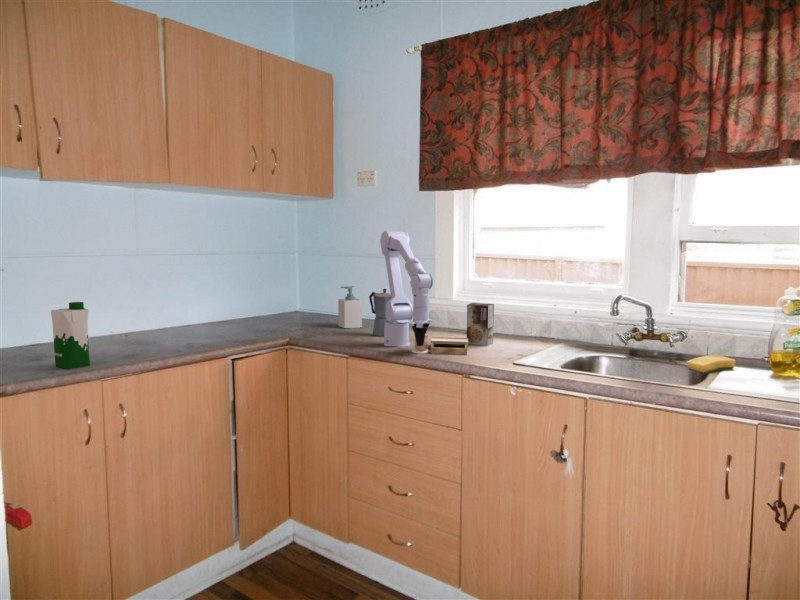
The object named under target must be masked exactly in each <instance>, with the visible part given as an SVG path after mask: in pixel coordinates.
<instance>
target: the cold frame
mask: <svg viewBox="0 0 800 600" xmlns="http://www.w3.org/2000/svg"><path fill="white" fill-rule="evenodd" d="M430 344H431V345H430V348H429V353H430V354H431V355H457V356H459V355H460V356H461V355H462V356H467V355H468V344H436V343H430Z"/></svg>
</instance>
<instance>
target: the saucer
mask: <svg viewBox="0 0 800 600" xmlns="http://www.w3.org/2000/svg"><path fill="white" fill-rule="evenodd" d="M411 352H412V353H414V354H428V353H430V349H428V348H427V349H426V350H416V349H415V348H413V349H411Z"/></svg>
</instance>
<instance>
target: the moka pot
mask: <svg viewBox="0 0 800 600" xmlns="http://www.w3.org/2000/svg"><path fill="white" fill-rule="evenodd" d="M368 297H369V303H370V307H371V312H372V314H374V315H375V318H374V323H373V328H372V335H373V336H376V337H383V338H384V328H385V322H389V321H388V320H387V318H386V314H385V312H386V303H387V302H388V301H389V300H390V299H391V293H389V292H387V288H383V289H382V292H375V291H371V293H370V295H369V296H368Z"/></svg>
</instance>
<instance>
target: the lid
mask: <svg viewBox="0 0 800 600" xmlns="http://www.w3.org/2000/svg"><path fill="white" fill-rule="evenodd" d="M432 343H436V344H467V345H469V344H468V338H467V337H456V336H454V337H448V336H432V337H431V340H430V344H432Z"/></svg>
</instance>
